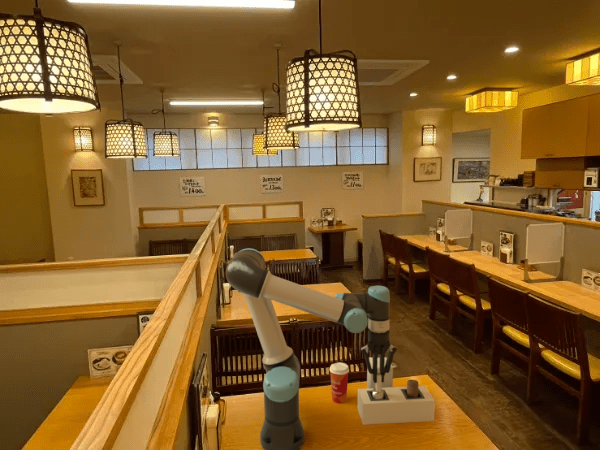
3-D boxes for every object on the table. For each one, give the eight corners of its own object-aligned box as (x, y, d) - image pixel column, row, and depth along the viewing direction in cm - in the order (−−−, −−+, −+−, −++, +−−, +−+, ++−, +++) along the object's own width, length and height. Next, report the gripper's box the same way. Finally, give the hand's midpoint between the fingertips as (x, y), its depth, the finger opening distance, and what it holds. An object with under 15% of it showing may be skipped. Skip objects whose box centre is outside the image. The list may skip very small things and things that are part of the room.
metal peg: (373, 413, 151) (373, 394, 149) (371, 407, 154) (371, 388, 153) (384, 413, 151) (384, 393, 150) (381, 406, 155) (381, 387, 154)
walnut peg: (408, 405, 151) (409, 385, 150) (405, 398, 155) (405, 379, 154) (419, 404, 151) (420, 385, 150) (415, 398, 155) (416, 379, 154)
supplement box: (393, 403, 160) (393, 367, 158) (369, 403, 160) (370, 367, 158) (388, 391, 169) (389, 356, 167) (366, 391, 169) (367, 356, 167)
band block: (363, 424, 148) (363, 404, 146) (357, 408, 158) (357, 388, 156) (434, 421, 149) (434, 400, 148) (424, 405, 159) (424, 385, 158)
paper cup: (326, 397, 166) (325, 364, 163) (342, 392, 169) (342, 360, 167) (335, 407, 158) (335, 373, 156) (352, 402, 162) (353, 368, 160)
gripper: (363, 334, 144) (362, 396, 147) (399, 332, 145) (398, 394, 148) (358, 325, 151) (358, 385, 155) (393, 324, 152) (392, 383, 156)
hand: (378, 390), depth 151 cm, fingers closed
